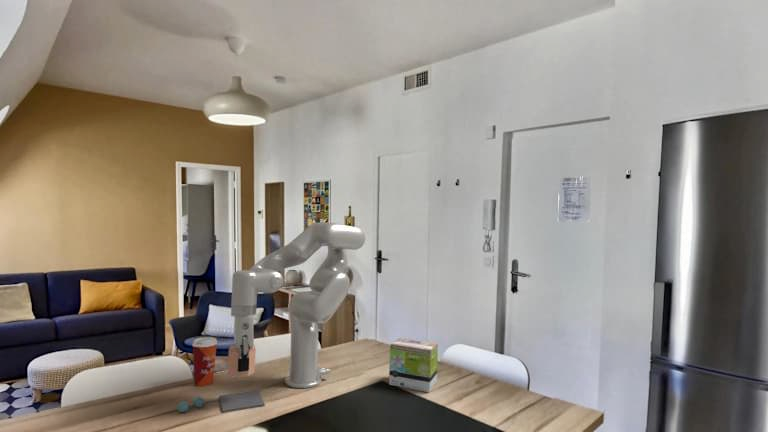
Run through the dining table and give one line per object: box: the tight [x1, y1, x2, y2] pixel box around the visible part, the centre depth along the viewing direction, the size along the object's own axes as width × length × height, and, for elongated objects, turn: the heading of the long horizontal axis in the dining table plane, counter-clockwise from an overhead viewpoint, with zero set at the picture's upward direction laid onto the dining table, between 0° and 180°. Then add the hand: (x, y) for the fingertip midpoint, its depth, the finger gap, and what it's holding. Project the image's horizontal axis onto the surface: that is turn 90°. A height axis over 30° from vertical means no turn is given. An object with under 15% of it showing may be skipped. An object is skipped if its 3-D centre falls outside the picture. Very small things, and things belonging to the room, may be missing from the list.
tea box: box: [388, 337, 439, 393], centre depth 150 cm, size 15×10×15 cm
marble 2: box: [192, 396, 205, 408], centre depth 128 cm, size 3×3×3 cm
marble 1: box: [177, 400, 190, 413], centre depth 124 cm, size 3×3×3 cm
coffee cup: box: [191, 336, 218, 387], centre depth 147 cm, size 8×8×15 cm
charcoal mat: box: [219, 389, 266, 413], centre depth 132 cm, size 12×12×1 cm
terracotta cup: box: [227, 344, 256, 378], centre depth 132 cm, size 8×8×8 cm
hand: (241, 366), depth 132 cm, fingers closed on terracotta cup, 7 cm apart
